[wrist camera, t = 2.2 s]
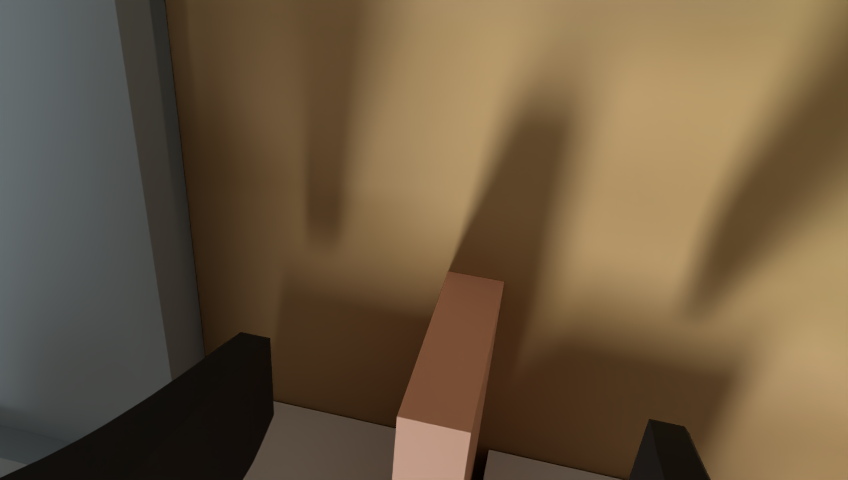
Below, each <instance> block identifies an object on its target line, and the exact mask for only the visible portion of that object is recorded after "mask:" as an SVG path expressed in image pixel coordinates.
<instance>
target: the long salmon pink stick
mask: <svg viewBox="0 0 848 480" xmlns="http://www.w3.org/2000/svg"><path fill="white" fill-rule="evenodd" d="M503 286H504V282H503V281H498V280H492V279H487V278H482V277H476V276H471V275H466V274H461V273H455V272H450V271H448V273H447V276H446V279H445V282H444V284H443V287H442V290H441V293H440V296H439V299H438V301H437V304H436V307H435V310H434V313H433V316H432V319H431V321H430V324H429V327H428V330H427V333H426V336H425V338H424V341H423V344H422V347H421V350H420V353H419V355H418V358H417V361H416V364H415V367H414V370H413V372H412V375H411V378H410V381H409V384H408V387H407V389H406V392H405V395H404V398H403V401H402V404H401V407H400V409H399V412H398V415H397V422H396V435H395V448H394V461H393V474H392V480H472V474H473V468H474V462H475V456H476V450H477V444H478V438H479V432H480V426H481V420H482V414H483V408H484V402H485V395H486V389H487V383H488V377H489V371H490V365H491V359H492V353H493V347H494V341H495V335H496V329H497V323H498V317H499V311H500V305H501V299H502V292H503Z"/></svg>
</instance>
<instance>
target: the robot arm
mask: <svg viewBox="0 0 848 480" xmlns="http://www.w3.org/2000/svg"><path fill="white" fill-rule="evenodd" d="M273 416H274V403H273V384H272V364H271V345H270V338H266V337H262V336H257V335H252V334H247V333H243V332H241V333H239V334H238V335H236V336H235V337H233V338H232V339H230V340H229V341H227V342H226V343H225V344H223V345H222V346H220V347H219V348H218V349H216V350H215V351H213V352H212V353H211V354H209V355H208V356H206V357H205V358H204V359H202V360H201V361H200V362H198V363H197V364H195V365H194V366H193V367H191V368H190V369H188V370H187V371H186V372H184V373H183V374H181V375H180V376H178V377H177V378H176V379H174V380H173V381H171V382H170V383H168V384H167V385H165V386H164V387H162V388H161V389H160V390H158V391H157V392H155V393H154V394H152V395H151V396H149V397H148V398H146V399H145V400H143V401H142V402H140V403H139V404H137V405H135V406H134V407H132V408H131V409H129V410H127V411H126V412H124V413H123V414H121V415H119V416H118V417H116V418H115V419H113V420H111V421H110V422H108V423H107V424H105V425H103V426H102V427H100V428H98V429H96V430H95V431H93V432H91V433H89V434H88V435H86V436H84V437H82V438H81V439H79V440H77V441H75V442H73V443H71V444H69V445H67V446H65V447H63V448H62V449H60V450H58V451H56V452H54V453H52V454H50V455H48V456H46V457H44V458H42V459H40V460H38V461H36V462H33V463H31V464H29V465H27V466H25V467H22V468H20V469H18V470H16V471H14V472H11V473H9V474H7V475H5V476H3V477H0V480H243V479H244V477H245V476H246V474H247V472H248V471H249V469H250V467H251V465H252V464H253V462H254V460H255V457H256V455H257V453H258V451H259V449H260V446H261V444H262V442H263V440H264V437H265V435H266V433H267V430H268V428H269V426H270V423H271V421H272V418H273ZM629 480H710V478H709V476H708V473H707V471H706V469H705V467H704V465H703V463H702V461H701V459H700V456H699V454H698V452H697V450H696V448H695V445H694V443H693V441H692V439H691V436H690V434H689V432H688V431H687V429H686V428H685V427H684V426H679V425H675V424H670V423H665V422H660V421H656V420H651V419H649V421H648V424H647V427H646V430H645V433H644V436H643V439H642V442H641V445H640V448H639V451H638V454H637V456H636V459H635V462H634V465H633V468H632V471H631V474H630V477H629Z"/></svg>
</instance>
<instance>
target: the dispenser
mask: <svg viewBox="0 0 848 480" xmlns="http://www.w3.org/2000/svg"><path fill="white" fill-rule="evenodd" d="M273 403H274V416H273V418H272V421H271V423H270V426H269V428H268V430H267V433H266V435H265V437H264V440H263V442H262V444H261V446H260V449H259V451H258V453H257V455H256V457H255V460H254V462H253V464H252V465H251V467H250V469H249V471H248V472H247V474H246V476H245V477H244V479H243V480H392V474H393V461H394V448H395V435H396V429H395V428H391V427H386V426H382V425H377V424H373V423H369V422H364V421H360V420H355V419H351V418H346V417H342V416H338V415H333V414H329V413H324V412H320V411H315V410H311V409H307V408H302V407H298V406H293V405H289V404H284V403H280V402H275V401H273ZM483 480H621V479H617V478H612V477H608V476H604V475H599V474H595V473H590V472H586V471H581V470H577V469H573V468H568V467H564V466H559V465H555V464H550V463H546V462H542V461H537V460H533V459H528V458H524V457H519V456H515V455H510V454H506V453H502V452H497V451H493V450H489V452H488V458H487V463H486V468H485V474H484V479H483Z"/></svg>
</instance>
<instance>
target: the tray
mask: <svg viewBox="0 0 848 480" xmlns="http://www.w3.org/2000/svg"><path fill="white" fill-rule="evenodd" d="M204 358H205V352H204V343H203V334H202V325H201V316H200V308H199V299H198V290H197V281H196V273H195V264H194V255H193V246H192V237H191V229H190V220H189V211H188V202H187V194H186V185H185V176H184V167H183V158H182V150H181V141H180V132H179V123H178V115H177V106H176V97H175V88H174V80H173V71H172V62H171V53H170V44H169V36H168V27H167V18H166V9H165V1H164V0H0V477H3V476H5V475H7V474H9V473H11V472H14V471H16V470H18V469H20V468H22V467H25V466H27V465H29V464H31V463H33V462H36V461H38V460H40V459H42V458H44V457H46V456H48V455H50V454H52V453H54V452H56V451H58V450H60V449H62V448H63V447H65V446H67V445H69V444H71V443H73V442H75V441H77V440H79V439H81V438H82V437H84V436H86V435H88V434H89V433H91V432H93V431H95V430H96V429H98V428H100V427H102V426H103V425H105V424H107V423H108V422H110V421H111V420H113V419H115V418H116V417H118V416H119V415H121V414H123V413H124V412H126V411H127V410H129V409H131V408H132V407H134V406H135V405H137V404H139V403H140V402H142V401H143V400H145V399H146V398H148V397H149V396H151V395H152V394H154V393H155V392H157V391H158V390H160V389H161V388H162V387H164V386H165V385H167V384H168V383H170V382H171V381H173V380H174V379H176V378H177V377H178V376H180V375H181V374H183V373H184V372H186V371H187V370H188V369H190V368H191V367H193V366H194V365H195V364H197V363H198V362H200V361H201V360H202V359H204Z"/></svg>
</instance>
